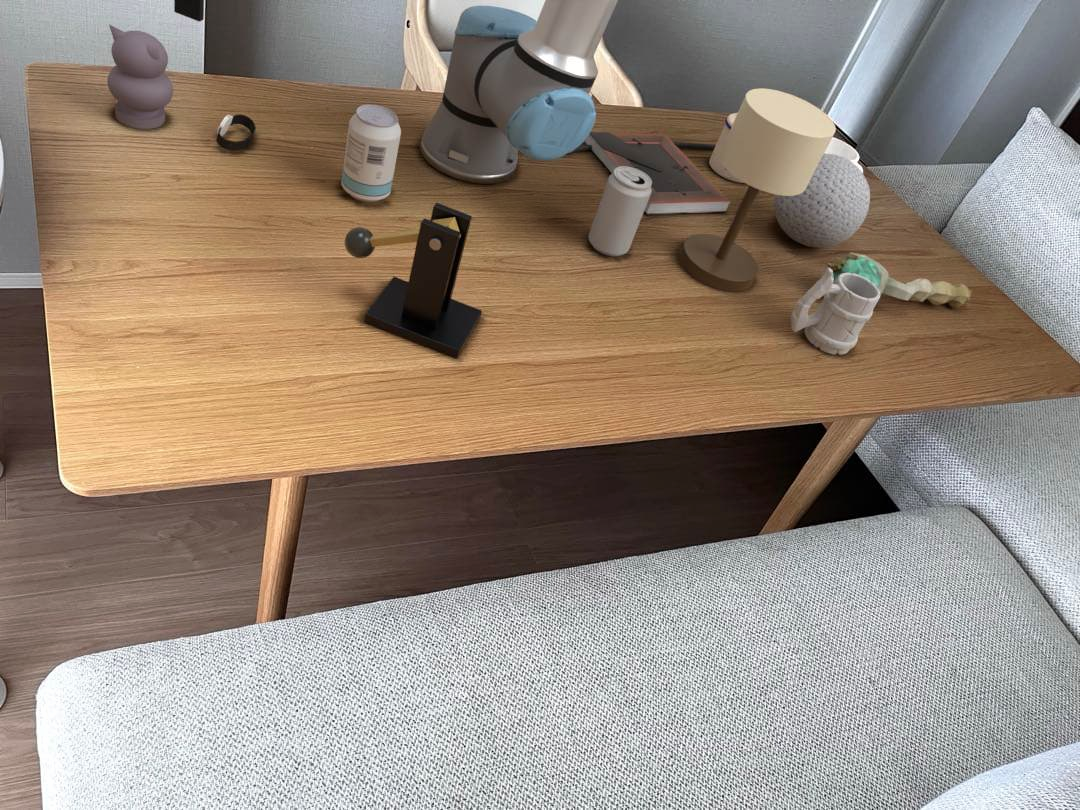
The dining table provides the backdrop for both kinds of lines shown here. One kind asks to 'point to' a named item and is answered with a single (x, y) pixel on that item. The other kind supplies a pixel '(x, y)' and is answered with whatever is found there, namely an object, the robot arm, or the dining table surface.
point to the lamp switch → (384, 238)
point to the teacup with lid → (715, 157)
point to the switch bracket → (430, 290)
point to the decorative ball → (826, 204)
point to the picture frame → (660, 172)
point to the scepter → (890, 287)
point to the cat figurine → (139, 79)
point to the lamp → (759, 176)
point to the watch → (227, 123)
